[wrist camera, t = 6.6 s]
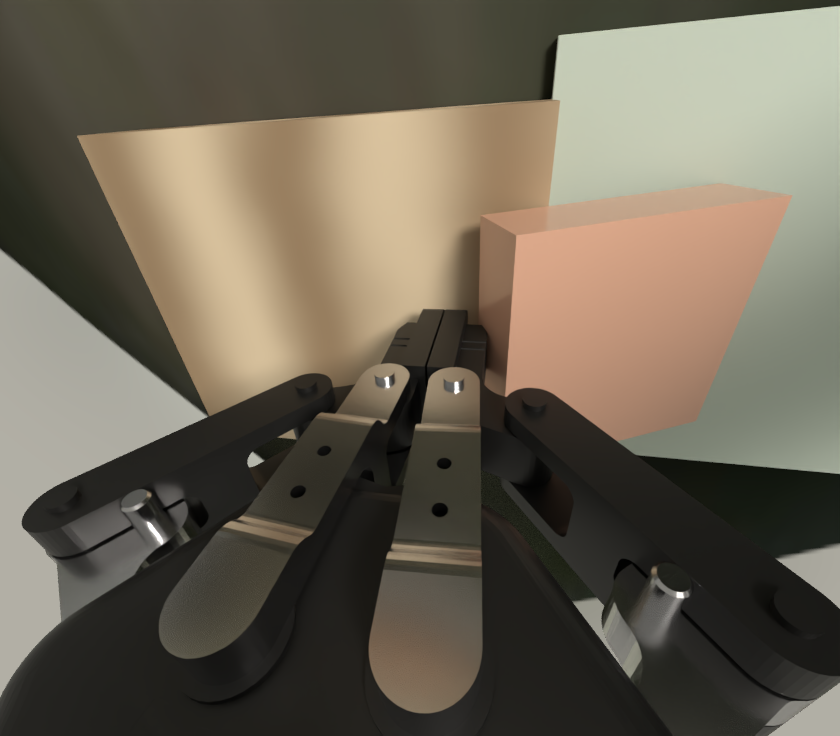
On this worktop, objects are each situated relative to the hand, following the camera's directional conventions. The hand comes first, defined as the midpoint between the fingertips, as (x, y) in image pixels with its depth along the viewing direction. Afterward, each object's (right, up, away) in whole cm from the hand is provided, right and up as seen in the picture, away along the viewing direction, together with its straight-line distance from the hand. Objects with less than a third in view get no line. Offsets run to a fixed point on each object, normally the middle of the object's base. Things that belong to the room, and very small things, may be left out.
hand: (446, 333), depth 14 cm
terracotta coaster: (+5, 0, -1) cm, 5 cm away
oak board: (-4, +2, +4) cm, 6 cm away
